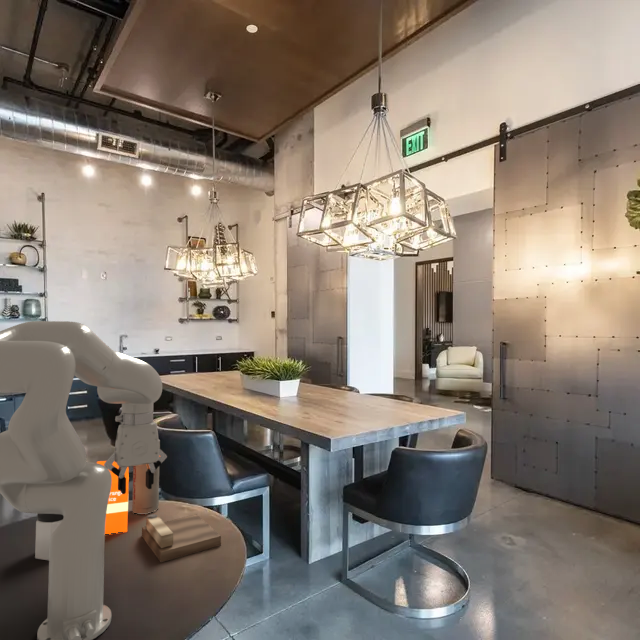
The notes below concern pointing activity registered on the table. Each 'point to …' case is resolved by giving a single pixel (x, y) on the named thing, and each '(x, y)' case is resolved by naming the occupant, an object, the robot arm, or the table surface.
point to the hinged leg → (159, 531)
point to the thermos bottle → (144, 490)
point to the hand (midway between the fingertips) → (135, 489)
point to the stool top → (184, 538)
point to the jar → (45, 533)
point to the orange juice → (117, 505)
